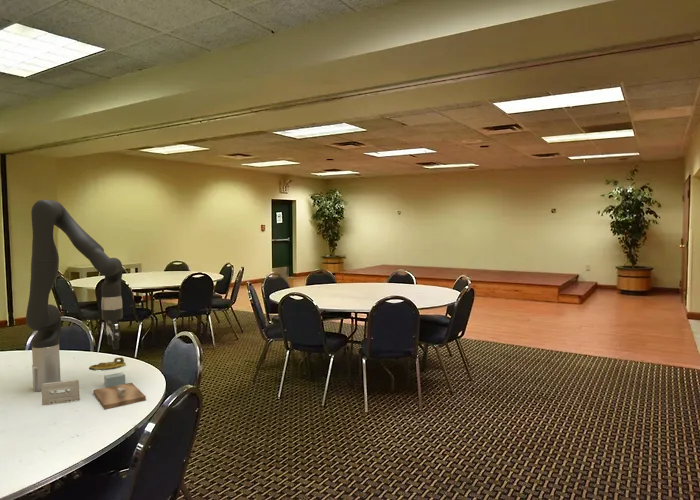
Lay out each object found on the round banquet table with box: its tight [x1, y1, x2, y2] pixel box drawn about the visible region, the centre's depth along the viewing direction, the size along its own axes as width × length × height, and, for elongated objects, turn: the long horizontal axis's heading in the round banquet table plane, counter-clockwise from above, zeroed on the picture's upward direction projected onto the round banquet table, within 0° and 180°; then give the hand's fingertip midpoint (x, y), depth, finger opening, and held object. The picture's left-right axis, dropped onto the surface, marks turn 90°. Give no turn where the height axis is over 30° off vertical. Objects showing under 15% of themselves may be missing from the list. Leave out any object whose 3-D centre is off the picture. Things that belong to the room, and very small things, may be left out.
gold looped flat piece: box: [89, 357, 126, 371], centre depth 221 cm, size 9×5×15 cm
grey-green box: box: [103, 371, 126, 388], centre depth 197 cm, size 7×5×4 cm
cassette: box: [41, 379, 81, 406], centre depth 178 cm, size 12×2×8 cm, turn 113°
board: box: [92, 382, 147, 410], centre depth 183 cm, size 14×20×4 cm
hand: (113, 346), depth 196 cm, fingers open, 8 cm apart
